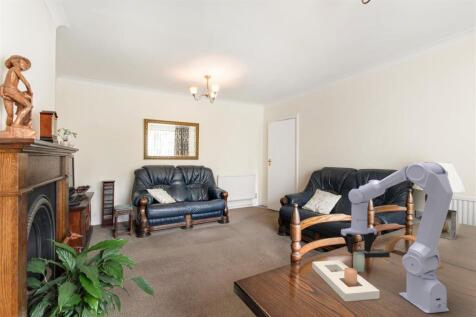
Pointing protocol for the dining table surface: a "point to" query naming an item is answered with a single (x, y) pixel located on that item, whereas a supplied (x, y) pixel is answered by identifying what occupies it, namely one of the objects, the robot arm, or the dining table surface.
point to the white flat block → (337, 281)
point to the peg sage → (358, 261)
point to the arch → (393, 241)
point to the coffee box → (449, 226)
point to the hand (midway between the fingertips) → (358, 252)
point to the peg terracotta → (350, 277)
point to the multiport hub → (374, 253)
